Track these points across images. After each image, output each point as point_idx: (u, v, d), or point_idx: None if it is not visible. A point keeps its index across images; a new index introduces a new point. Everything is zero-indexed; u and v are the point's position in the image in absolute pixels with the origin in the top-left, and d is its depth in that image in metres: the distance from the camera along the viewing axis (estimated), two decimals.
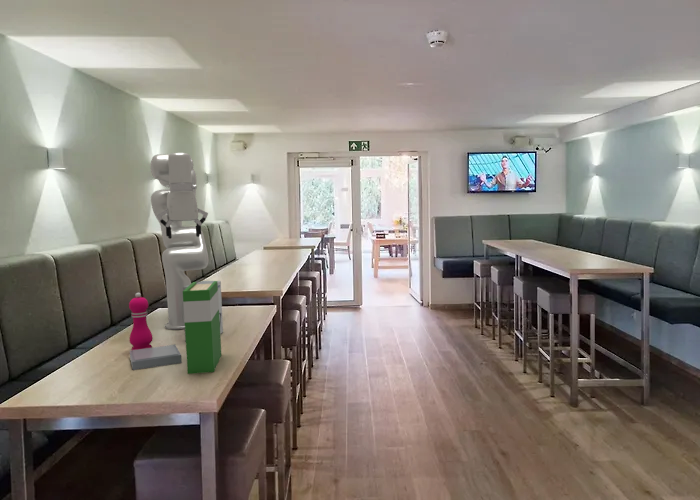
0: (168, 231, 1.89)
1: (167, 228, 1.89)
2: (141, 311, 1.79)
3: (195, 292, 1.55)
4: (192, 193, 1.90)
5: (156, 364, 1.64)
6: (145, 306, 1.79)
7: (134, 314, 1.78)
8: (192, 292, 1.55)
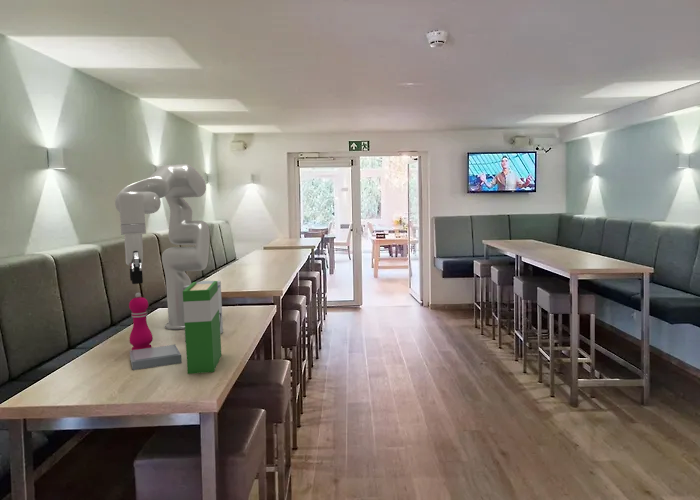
0: (139, 275, 1.74)
1: (139, 272, 1.74)
2: (141, 311, 1.79)
3: (195, 292, 1.55)
4: None
5: (156, 364, 1.64)
6: (145, 306, 1.79)
7: (134, 314, 1.78)
8: (192, 292, 1.55)
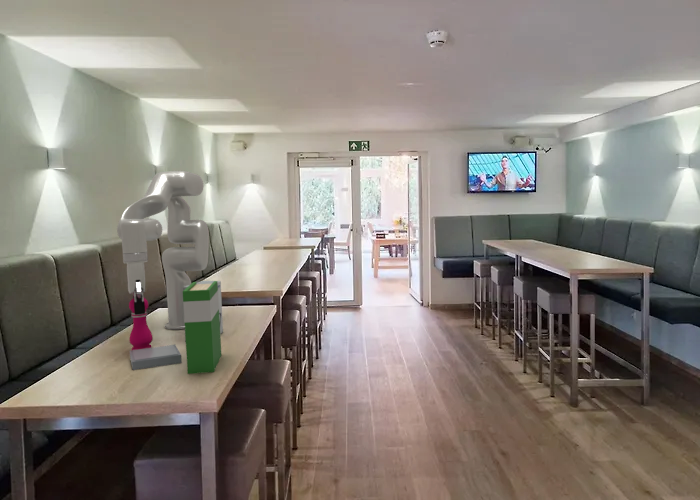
0: (142, 306, 1.77)
1: (141, 303, 1.76)
2: None
3: (195, 292, 1.55)
4: None
5: (156, 364, 1.64)
6: (145, 306, 1.79)
7: (134, 314, 1.78)
8: (192, 292, 1.55)
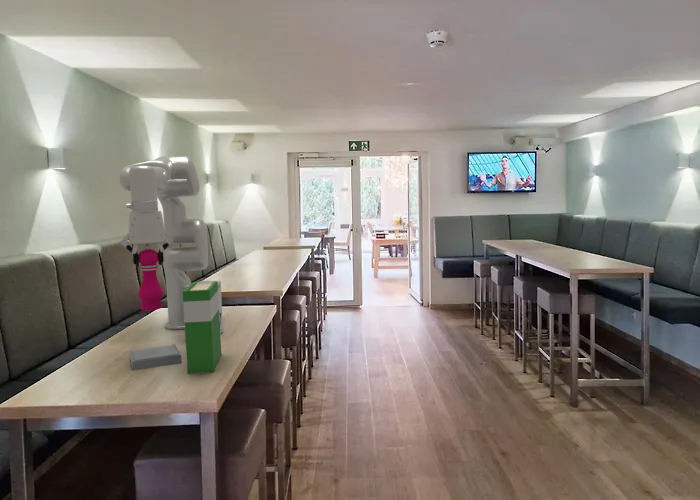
0: None
1: None
2: None
3: (195, 292, 1.55)
4: None
5: (156, 364, 1.64)
6: None
7: (155, 266, 1.67)
8: (192, 292, 1.55)
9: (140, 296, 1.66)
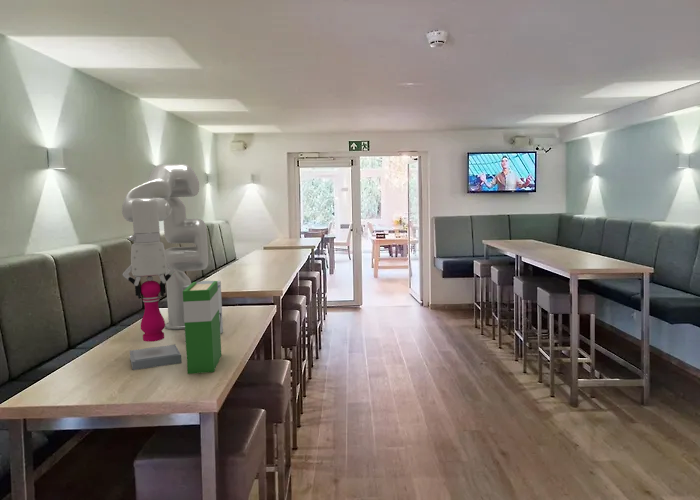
0: None
1: None
2: None
3: (195, 292, 1.55)
4: None
5: (156, 364, 1.64)
6: None
7: (157, 297, 1.68)
8: (192, 292, 1.55)
9: (142, 327, 1.67)
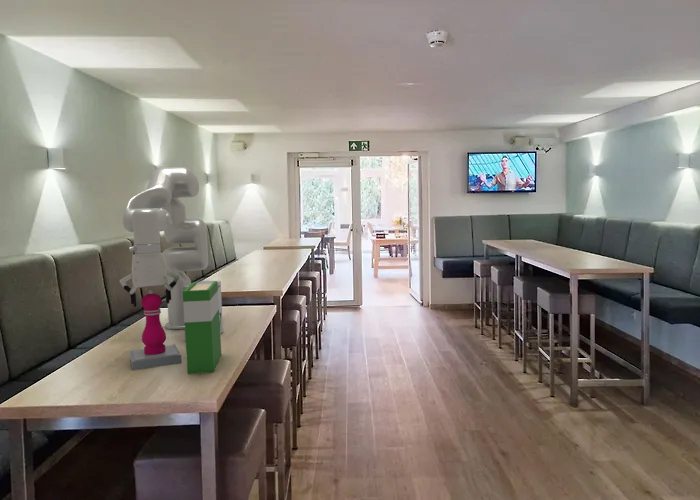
0: None
1: None
2: None
3: (195, 292, 1.55)
4: None
5: (156, 364, 1.64)
6: None
7: (158, 310, 1.69)
8: (192, 292, 1.55)
9: (143, 340, 1.68)
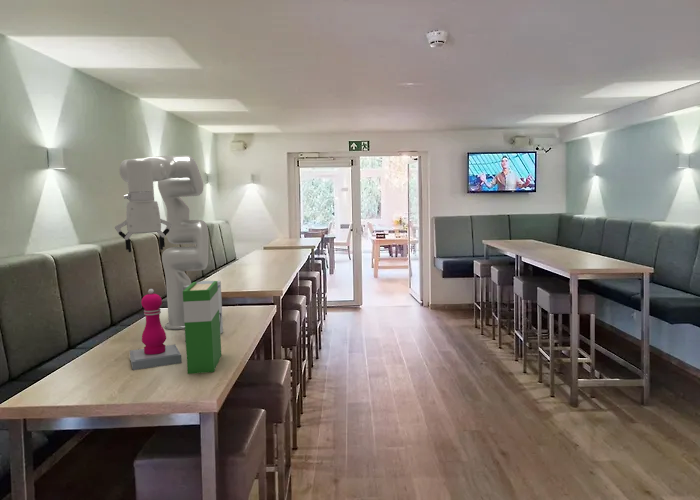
0: None
1: None
2: None
3: (195, 292, 1.55)
4: None
5: (156, 364, 1.64)
6: None
7: (158, 310, 1.69)
8: (192, 292, 1.55)
9: (143, 340, 1.68)
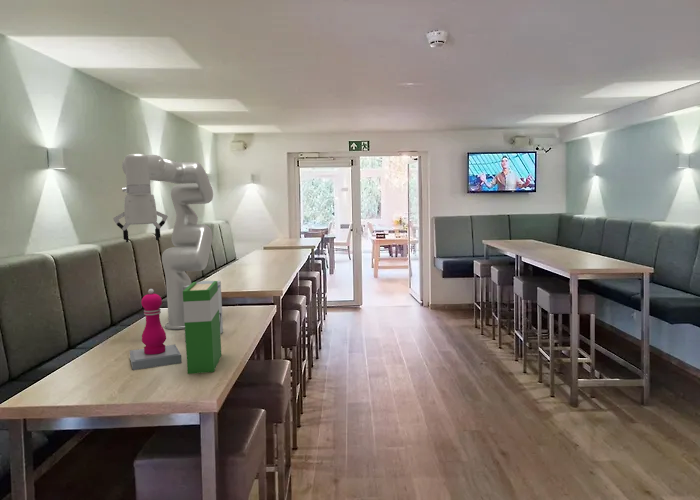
0: None
1: None
2: None
3: (195, 292, 1.55)
4: None
5: (156, 364, 1.64)
6: None
7: (158, 310, 1.69)
8: (192, 292, 1.55)
9: (143, 340, 1.68)
